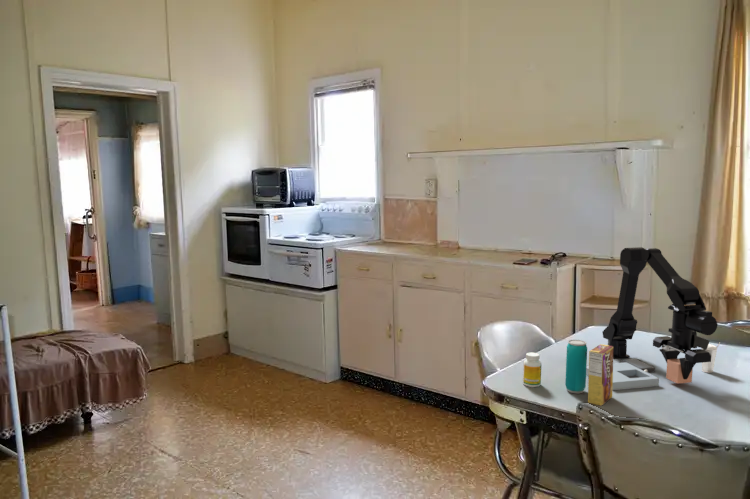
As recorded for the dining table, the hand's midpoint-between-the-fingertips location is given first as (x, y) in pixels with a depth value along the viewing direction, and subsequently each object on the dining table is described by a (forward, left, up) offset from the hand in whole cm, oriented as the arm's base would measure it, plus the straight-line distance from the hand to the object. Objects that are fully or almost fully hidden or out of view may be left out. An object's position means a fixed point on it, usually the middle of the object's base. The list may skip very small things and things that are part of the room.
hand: (679, 376), depth 187 cm
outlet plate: (-8, -15, -3) cm, 17 cm away
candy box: (+6, -31, -3) cm, 32 cm away
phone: (-17, -2, -3) cm, 17 cm away
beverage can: (-2, -34, -3) cm, 34 cm away
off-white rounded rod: (-10, -5, -3) cm, 11 cm away
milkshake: (-8, +18, -3) cm, 20 cm away
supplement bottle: (-10, -44, -3) cm, 45 cm away
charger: (0, 0, -1) cm, 1 cm away
